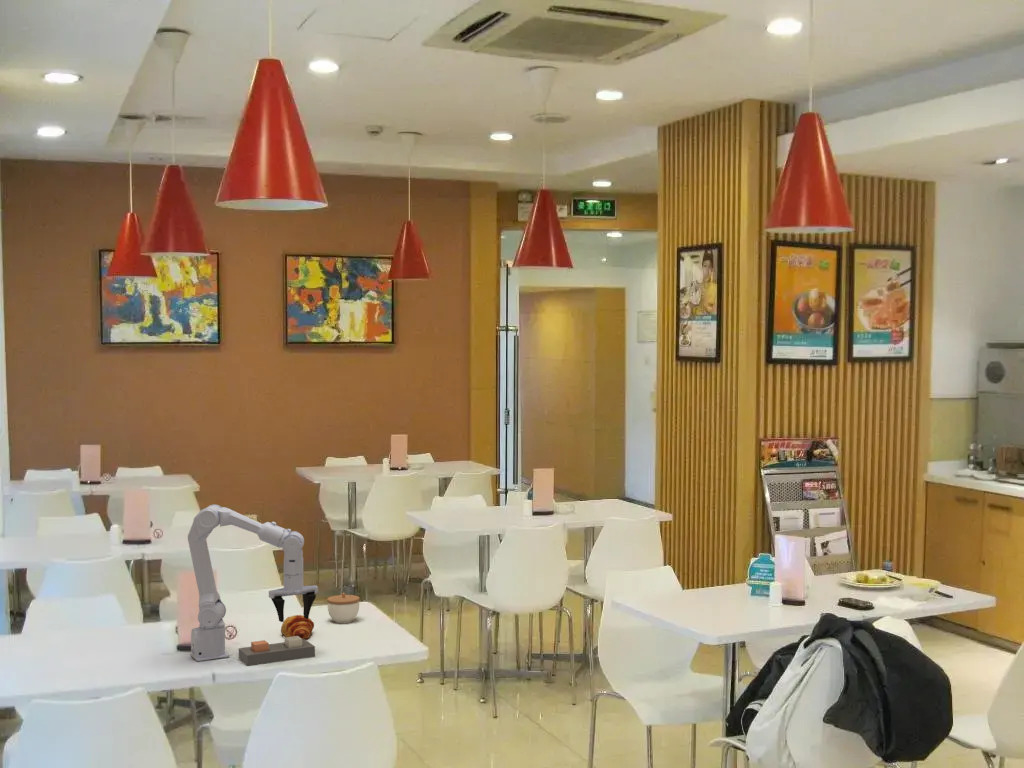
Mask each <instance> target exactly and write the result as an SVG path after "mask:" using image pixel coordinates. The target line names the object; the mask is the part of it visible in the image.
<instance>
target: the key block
mask: <svg viewBox="0 0 1024 768" xmlns="http://www.w3.org/2000/svg"><path fill="white" fill-rule="evenodd" d="M315 656H316V646H315V645H314V644H312V643H311V642H310V641H308V640H306V639H302V646H299V647H292V648H287V647H286V646H285V641H284V642H276V643H269V651H262V652H255V653H254V652H253V651H252V650H251V646H247V647H246V646H245V647H238V659H239V660H240V661H241V662H242V663H243V664H244V665H245V666H246V667H250V666H257V665H258V666H259V665H264V664H270V663H279V662H285V661H293V660H299V659H306V658H312V657H313V658H314V657H315Z"/></svg>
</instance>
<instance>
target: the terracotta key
mask: <svg viewBox="0 0 1024 768" xmlns="http://www.w3.org/2000/svg"><path fill="white" fill-rule="evenodd" d="M269 644H270V643H269V642H268V641H266V640H265V639H264V640H257V641H251V642H250V647H251V650H252V651H253V652H254V653H255V652H262V651H269Z"/></svg>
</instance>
